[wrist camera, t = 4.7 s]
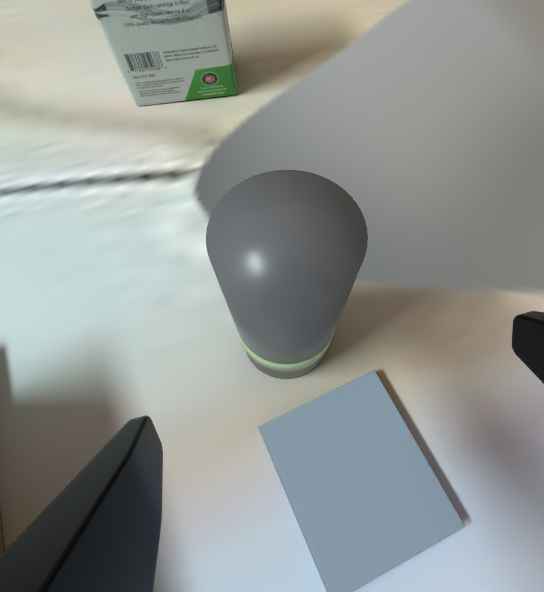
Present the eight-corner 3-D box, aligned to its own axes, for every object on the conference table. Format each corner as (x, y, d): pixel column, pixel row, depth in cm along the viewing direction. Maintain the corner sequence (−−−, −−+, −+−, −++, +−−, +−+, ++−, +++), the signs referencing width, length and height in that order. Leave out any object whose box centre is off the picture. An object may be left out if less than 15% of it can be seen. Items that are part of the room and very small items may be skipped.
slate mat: (459, 523, 17) (464, 526, 17) (330, 598, 16) (331, 603, 16) (372, 372, 20) (374, 370, 20) (258, 427, 19) (258, 427, 19)
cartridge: (344, 356, 21) (401, 266, 10) (263, 395, 20) (242, 337, 10) (304, 284, 22) (320, 149, 12) (229, 317, 22) (182, 201, 12)
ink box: (234, 59, 31) (208, -148, 21) (238, 97, 29) (210, -110, 19) (136, 68, 31) (57, -134, 20) (133, 108, 29) (44, -94, 19)
